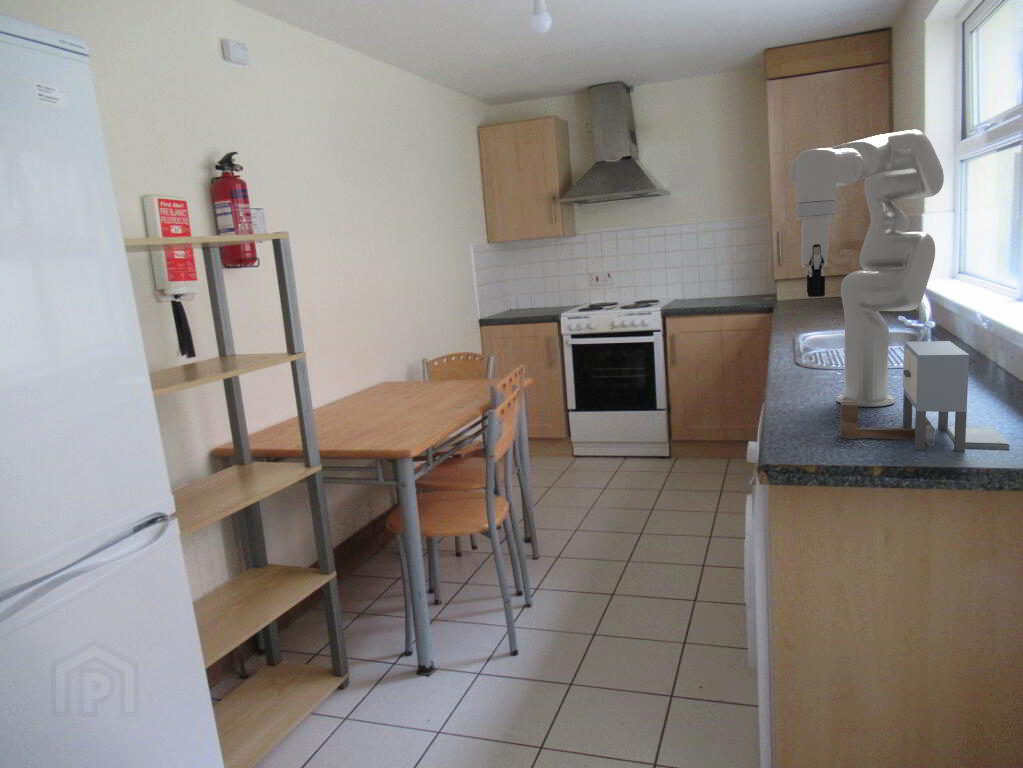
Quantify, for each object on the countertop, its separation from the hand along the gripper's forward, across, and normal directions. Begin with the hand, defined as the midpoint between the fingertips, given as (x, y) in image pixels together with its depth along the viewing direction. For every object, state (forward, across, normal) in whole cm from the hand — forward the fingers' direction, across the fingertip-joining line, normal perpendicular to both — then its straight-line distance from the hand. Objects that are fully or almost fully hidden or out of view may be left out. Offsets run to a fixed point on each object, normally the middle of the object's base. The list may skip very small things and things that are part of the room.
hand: (815, 294), depth 157 cm
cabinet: (+28, +9, +21) cm, 36 cm away
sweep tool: (+28, +9, +13) cm, 32 cm away
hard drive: (+29, +9, +29) cm, 42 cm away
